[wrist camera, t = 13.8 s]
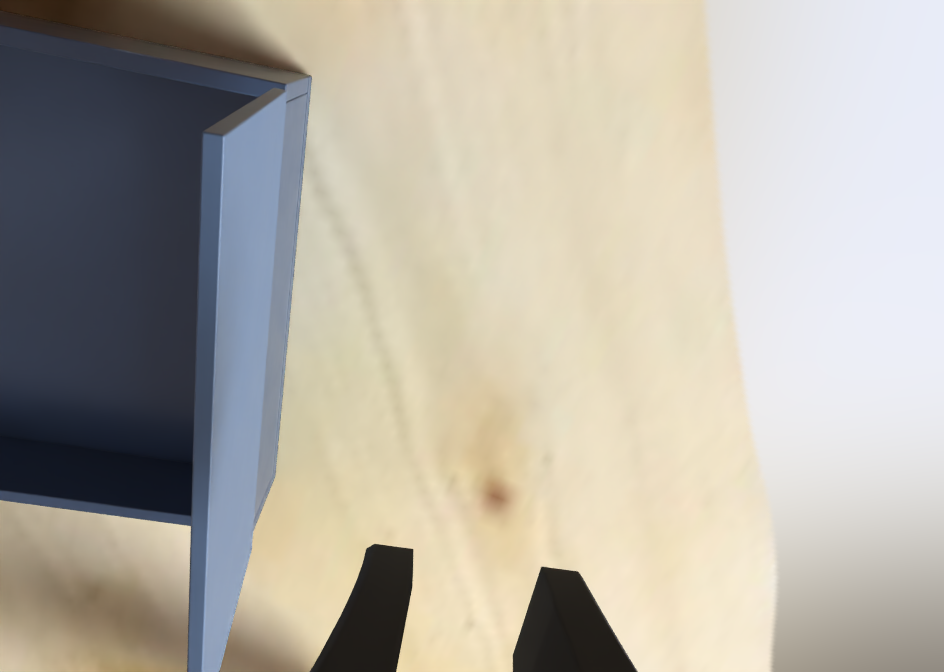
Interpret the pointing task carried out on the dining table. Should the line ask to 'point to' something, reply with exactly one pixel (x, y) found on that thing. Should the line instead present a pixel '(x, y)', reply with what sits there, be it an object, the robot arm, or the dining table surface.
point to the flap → (230, 359)
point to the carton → (118, 264)
